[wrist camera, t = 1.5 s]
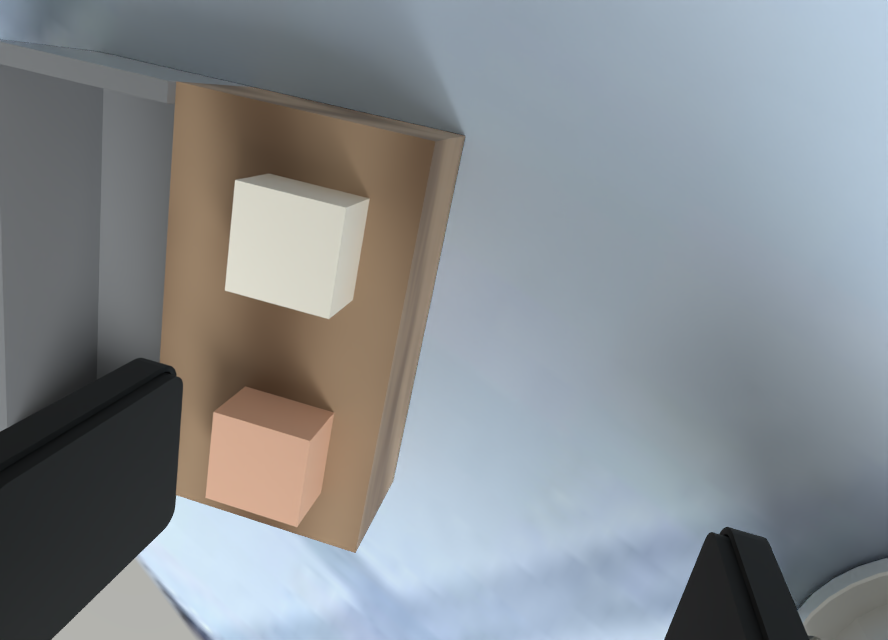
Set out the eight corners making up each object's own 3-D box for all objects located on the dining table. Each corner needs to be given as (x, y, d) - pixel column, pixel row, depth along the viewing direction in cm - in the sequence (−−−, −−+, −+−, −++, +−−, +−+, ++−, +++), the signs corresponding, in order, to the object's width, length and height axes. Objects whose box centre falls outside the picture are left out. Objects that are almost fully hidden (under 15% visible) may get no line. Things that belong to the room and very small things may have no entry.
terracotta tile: (334, 412, 27) (310, 441, 24) (320, 492, 28) (297, 527, 26) (245, 386, 27) (213, 411, 25) (236, 466, 29) (205, 497, 26)
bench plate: (465, 135, 28) (435, 141, 23) (393, 481, 34) (355, 552, 29) (254, 87, 30) (176, 81, 24) (220, 428, 36) (152, 487, 30)
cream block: (369, 198, 24) (346, 207, 21) (352, 300, 25) (328, 319, 23) (268, 173, 24) (235, 179, 22) (257, 274, 26) (224, 290, 23)
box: (254, 87, 30) (168, 80, 23) (220, 428, 36) (145, 493, 30) (97, 51, 31) (-23, 36, 25) (91, 389, 37) (-8, 443, 31)
